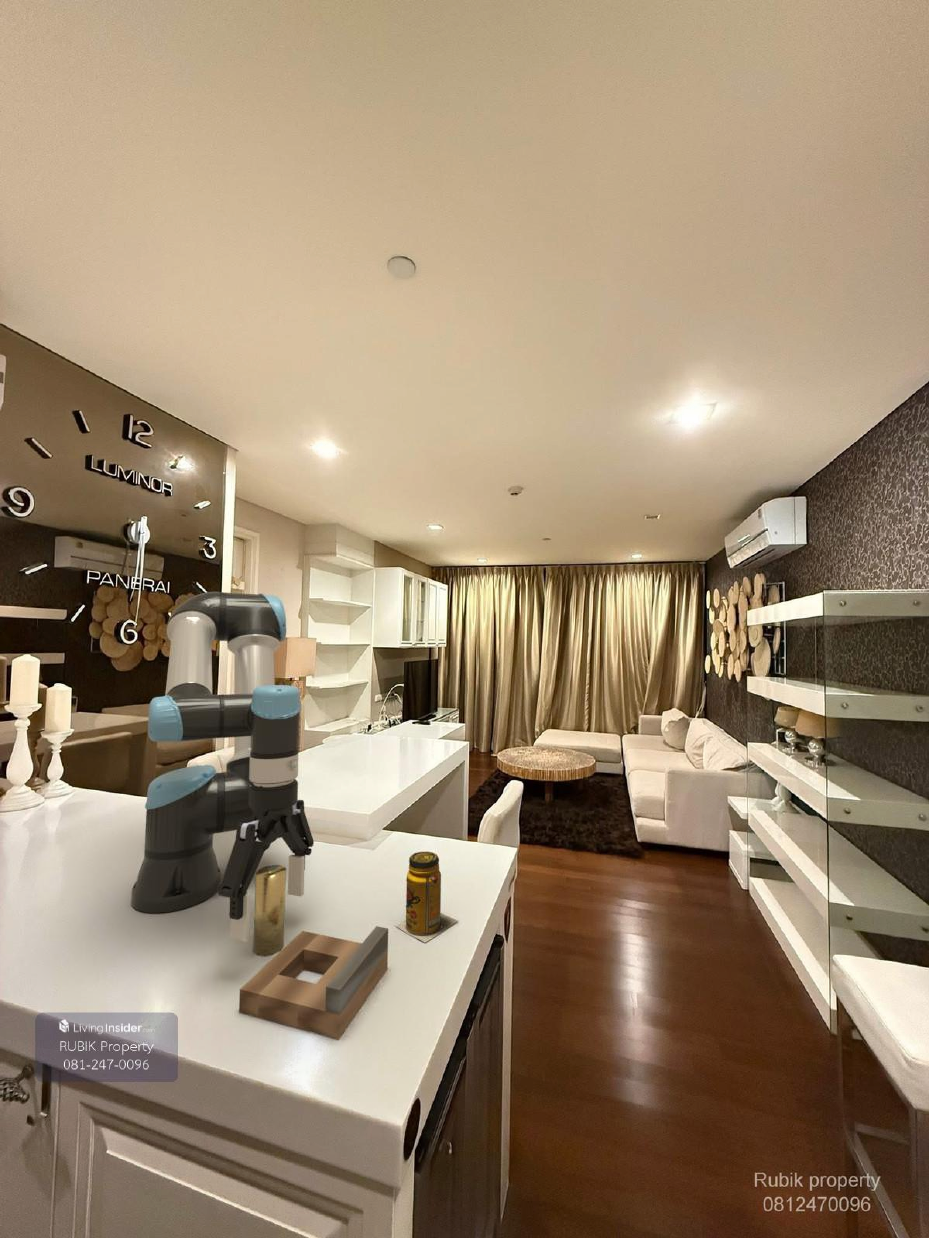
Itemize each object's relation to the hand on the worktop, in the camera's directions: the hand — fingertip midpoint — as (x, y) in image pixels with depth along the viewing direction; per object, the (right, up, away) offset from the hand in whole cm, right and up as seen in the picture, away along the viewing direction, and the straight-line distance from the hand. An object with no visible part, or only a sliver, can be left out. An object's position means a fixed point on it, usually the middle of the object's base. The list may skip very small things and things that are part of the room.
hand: (270, 914), depth 80 cm
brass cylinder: (0, -5, 0) cm, 5 cm away
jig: (+11, -5, -9) cm, 15 cm away
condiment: (+25, -6, +7) cm, 27 cm away
